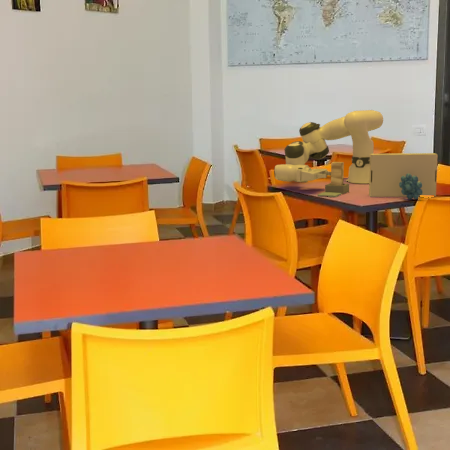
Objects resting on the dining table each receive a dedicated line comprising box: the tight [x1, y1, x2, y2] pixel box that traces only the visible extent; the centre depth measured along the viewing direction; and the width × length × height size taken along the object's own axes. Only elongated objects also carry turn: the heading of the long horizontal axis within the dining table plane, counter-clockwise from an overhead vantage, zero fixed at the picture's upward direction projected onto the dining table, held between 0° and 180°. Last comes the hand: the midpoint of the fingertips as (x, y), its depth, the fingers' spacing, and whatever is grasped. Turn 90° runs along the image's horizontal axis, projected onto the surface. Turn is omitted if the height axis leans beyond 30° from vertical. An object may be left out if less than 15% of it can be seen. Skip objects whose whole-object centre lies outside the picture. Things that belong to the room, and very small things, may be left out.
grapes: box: [399, 173, 423, 201], centre depth 308 cm, size 12×7×12 cm, turn 48°
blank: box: [330, 161, 345, 186], centre depth 334 cm, size 4×5×15 cm
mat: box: [317, 191, 343, 198], centre depth 326 cm, size 9×9×1 cm
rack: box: [324, 182, 350, 195], centre depth 335 cm, size 8×10×4 cm
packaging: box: [368, 152, 439, 198], centre depth 319 cm, size 30×6×20 cm, turn 84°
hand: (329, 174), depth 335 cm, fingers open, 8 cm apart
